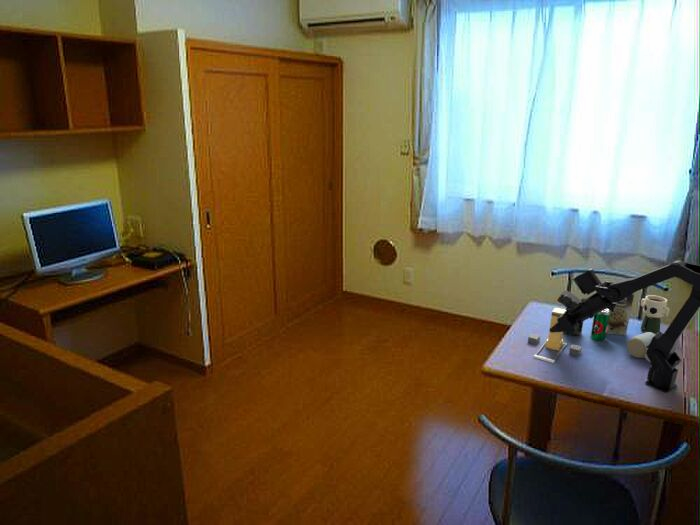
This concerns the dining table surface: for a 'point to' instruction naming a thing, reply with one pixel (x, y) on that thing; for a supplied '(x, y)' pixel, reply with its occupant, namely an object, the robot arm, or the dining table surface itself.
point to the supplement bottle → (578, 330)
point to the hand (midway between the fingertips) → (552, 328)
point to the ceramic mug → (640, 345)
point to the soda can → (600, 325)
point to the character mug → (653, 312)
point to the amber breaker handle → (555, 337)
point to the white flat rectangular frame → (573, 350)
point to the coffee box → (620, 317)
